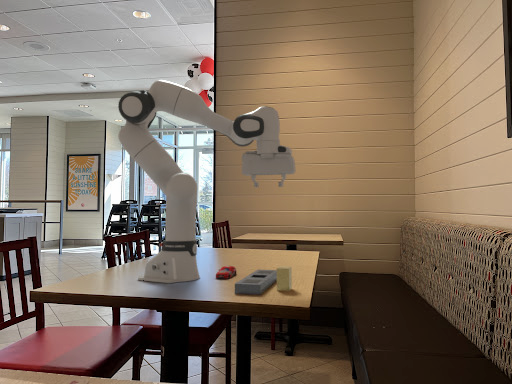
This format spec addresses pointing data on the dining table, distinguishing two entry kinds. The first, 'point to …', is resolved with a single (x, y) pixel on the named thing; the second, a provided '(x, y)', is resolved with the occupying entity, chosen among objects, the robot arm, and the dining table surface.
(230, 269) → the race car
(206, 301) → the dining table surface
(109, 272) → the dining table surface
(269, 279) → the rail
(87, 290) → the dining table surface
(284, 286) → the pale yellow block
